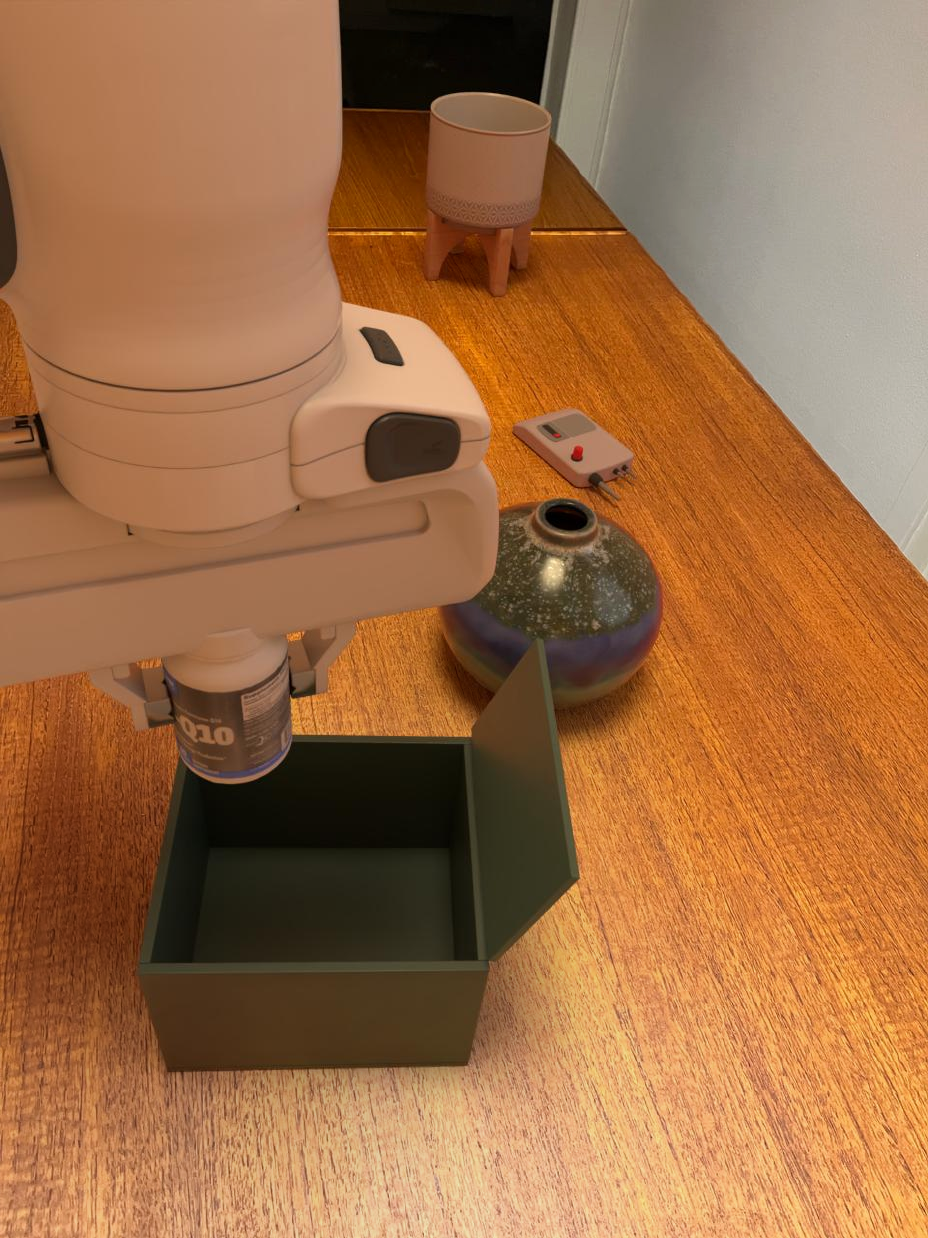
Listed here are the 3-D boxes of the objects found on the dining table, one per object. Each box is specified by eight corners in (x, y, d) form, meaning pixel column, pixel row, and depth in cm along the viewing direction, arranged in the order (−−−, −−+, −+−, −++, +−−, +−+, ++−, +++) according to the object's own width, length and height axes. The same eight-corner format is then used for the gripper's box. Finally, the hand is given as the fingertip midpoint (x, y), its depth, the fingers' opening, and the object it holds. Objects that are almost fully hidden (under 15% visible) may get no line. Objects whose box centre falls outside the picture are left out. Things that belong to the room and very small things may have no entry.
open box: (456, 845, 59) (472, 736, 52) (468, 1066, 50) (489, 970, 42) (203, 845, 57) (183, 732, 50) (167, 1072, 48) (135, 974, 41)
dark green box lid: (470, 728, 51) (477, 730, 51) (487, 961, 42) (496, 963, 42) (536, 637, 46) (543, 639, 47) (571, 876, 37) (580, 878, 37)
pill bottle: (153, 748, 40) (121, 601, 34) (235, 682, 43) (217, 536, 37) (238, 808, 38) (218, 663, 33) (316, 735, 41) (311, 590, 36)
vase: (509, 777, 63) (538, 632, 54) (393, 628, 72) (400, 481, 62) (686, 693, 70) (738, 551, 60) (559, 566, 78) (588, 425, 69)
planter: (404, 254, 118) (411, 94, 105) (499, 243, 122) (517, 89, 110) (448, 303, 110) (462, 135, 97) (548, 289, 114) (573, 128, 102)
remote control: (555, 406, 96) (560, 379, 94) (661, 492, 87) (668, 464, 85) (500, 422, 93) (504, 395, 91) (604, 513, 84) (610, 485, 82)
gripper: (-210, 512, 24) (-53, 827, 34) (540, 416, 30) (493, 705, 40) (-185, 381, 28) (-52, 695, 38) (470, 320, 34) (443, 603, 44)
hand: (232, 699), depth 39 cm, fingers closed on pill bottle, 5 cm apart
